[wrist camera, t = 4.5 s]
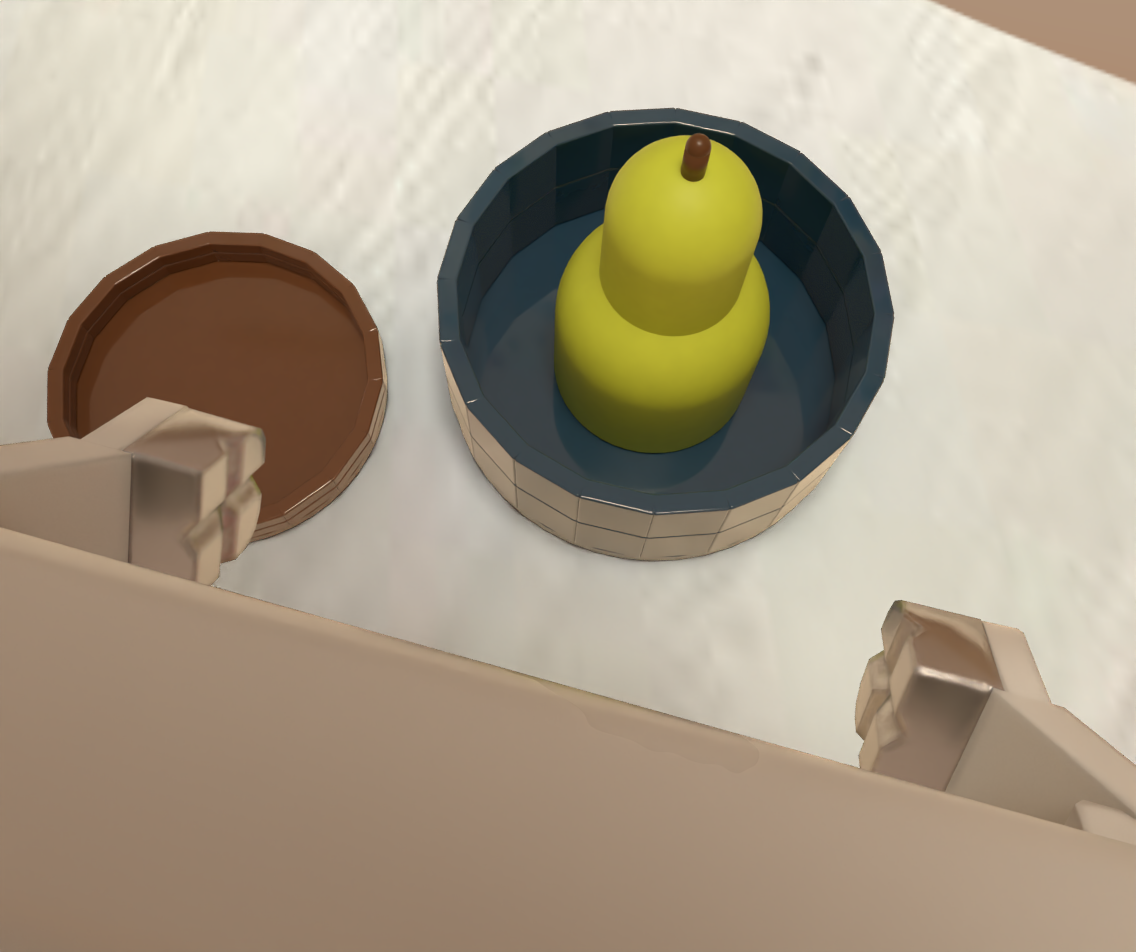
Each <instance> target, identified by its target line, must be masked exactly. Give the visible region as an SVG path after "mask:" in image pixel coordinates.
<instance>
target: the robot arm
mask: <svg viewBox="0 0 1136 952" xmlns="http://www.w3.org/2000/svg"><path fill="white" fill-rule="evenodd" d="M265 447H266V438H265V435H264V432H263V430H262V429H261V428H258V427H254V426H251V425H247V424H244V423H240V422H237V421H234V420H230V419H227V418H223V417H220V416H216V415H213V414H209V413H206V412H202V411H199V410H195V409H192V408H188V407H187V406H185V405H180V404H176V403H172V402H167V401H163V400H158V399H154V398H149V397H146V398H145V399H143V400H142V401H140V402H139V403H137V404H135V405H134V406H132V407H131V408H129V409H128V410H126V411H124V412H123V413H121V414H120V415H118V416H116V417H115V418H113V419H112V420H110V421H109V422H107V423H105V424H104V425H102V426H101V427H99V428H98V429H96V430H94V431H93V432H91V433H90V434H88V435H86V436H85V437H83V438H82V439H77V438H73V437H70V436H67V437H60V438H52V439H44V440H37V441H29V442H21V443H13V444H6V445H0V952H1136V765H1135V764H1134V763H1132V762H1131V761H1130V760H1129V759H1127V758H1126V757H1125V756H1124V755H1122V754H1121V753H1120V752H1119V751H1117V750H1116V749H1115V748H1114V747H1112V746H1111V745H1110V744H1109V743H1108V742H1106V741H1105V740H1104V739H1103V738H1101V737H1100V736H1099V735H1098V734H1096V733H1095V732H1094V731H1093V730H1091V729H1090V728H1089V727H1088V726H1086V725H1085V724H1084V723H1083V722H1082V721H1080V720H1079V719H1078V718H1077V717H1075V716H1074V715H1073V714H1072V713H1070V712H1069V711H1068V710H1067V709H1065V708H1064V707H1060V706H1057V705H1053V704H1052V703H1051V701H1050V698H1049V696H1048V693H1047V691H1046V688H1045V686H1044V683H1043V681H1042V678H1041V676H1040V673H1039V671H1038V668H1037V666H1036V663H1035V661H1034V658H1033V656H1032V653H1031V651H1030V648H1029V646H1028V643H1027V640H1026V638H1025V635H1024V633H1023V632H1021V631H1020V630H1019V629H1017V628H1012V627H1008V626H1003V625H998V624H994V623H989V622H985V621H981V619H977V618H973V617H969V616H965V615H961V614H957V613H952V612H948V611H944V610H940V609H936V608H932V607H928V606H924V605H920V604H916V603H911V602H907V601H903V600H898V601H894V603H893V605H892V606H891V608H890V610H889V611H888V613H887V616H886V618H885V621H884V623H883V626H882V628H881V633H882V640H883V646H884V650H883V651H881V652H880V653H878V654H877V655H875V656H873V657H872V658H870V659H869V661H868V663H867V666H866V669H865V672H864V674H863V677H862V680H861V683H860V687H859V692H858V696H857V700H856V708H855V726H856V732H857V733H858V735H859V736H860V737H861V738H862V739H863V740H864V743H863V745H862V748H861V750H860V753H859V755H858V756H859V764H860V768H858V767H854V766H851V765H847V764H843V763H840V762H836V761H833V760H829V759H826V758H822V757H818V756H815V755H811V754H808V753H804V752H801V751H797V750H793V749H790V748H786V747H783V746H779V745H776V744H772V743H768V742H765V741H761V740H758V739H754V738H751V737H747V736H743V735H740V734H736V733H733V732H729V731H726V730H722V729H718V728H715V727H711V726H708V725H704V724H701V723H697V722H694V721H690V720H686V719H683V718H679V717H676V716H672V715H669V714H665V713H661V712H658V711H654V710H651V709H647V708H644V707H640V706H637V705H633V704H629V703H626V702H622V701H619V700H615V699H612V698H608V697H604V696H601V695H597V694H594V693H590V692H587V691H583V690H580V689H576V688H572V687H569V686H565V685H562V684H558V683H555V682H551V681H547V680H544V679H540V678H537V677H533V676H530V675H526V674H523V673H519V672H515V671H512V670H508V669H505V668H501V667H498V666H494V665H490V664H487V663H483V662H480V661H476V660H473V659H469V658H466V657H462V656H458V655H455V654H451V653H448V652H444V651H441V650H437V649H433V648H430V647H426V646H423V645H419V644H416V643H412V642H409V641H405V640H401V639H398V638H394V637H391V636H387V635H384V634H380V633H376V632H373V631H369V630H366V629H362V628H359V627H355V626H352V625H348V624H344V623H341V622H337V621H334V620H330V619H327V618H323V617H319V616H316V615H312V614H309V613H305V612H302V611H298V610H294V609H291V608H287V607H284V606H280V605H277V604H273V603H270V602H266V601H262V600H259V599H255V598H252V597H248V596H245V595H241V594H237V593H234V592H230V591H227V590H223V589H220V588H216V587H213V586H211V585H212V584H213V583H214V582H215V581H216V580H217V579H218V578H219V574H220V564H221V563H225V562H228V561H232V560H236V559H237V558H238V556H239V555H240V554H241V553H242V552H243V551H244V550H245V549H246V547H247V545H248V543H249V541H250V539H251V537H252V535H253V533H254V531H255V529H256V525H257V521H258V517H259V513H260V506H261V496H262V493H261V491H260V489H259V487H258V486H257V484H256V482H255V480H254V478H253V476H252V474H253V473H254V472H255V471H256V470H257V469H258V468H259V467H260V466H261V465H263V464H264V463H265Z"/></svg>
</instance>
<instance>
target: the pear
mask: <svg viewBox="0 0 1136 952" xmlns="http://www.w3.org/2000/svg"><path fill="white" fill-rule="evenodd" d="M761 227H762V201H761V197H760V193H759V189H758V186H757V184H756V181H755V179H754V177H753V175H752V174H751V172H750V170H749V169H748V167H747V166H746V165H745V163H744V162H743V161H742V160H741V159H740V158H739V157H738V156H737V155H736V154H735V153H733V152H732V151H731V150H729V149H728V148H727V147H725V146H723V145H722V144H720V143H718V142H715V141H713V140H710V139H709V138H708V137H707V136H706V135H704V134H701V133H697V134H694V135H692V136H690V135H682V136H673V137H668V138H664V139H661V140H658V141H655V142H653V143H651V144H649V145H647V146H645V147H644V148H642V149H641V150H639V151H638V152H637V153H635V154H634V155H633V156H632V157H631V158H630V159H629V160H628V161H627V162H626V163H625V164H624V166H623V167H622V168H621V169H620V170H619V172H618V174H617V175H616V177H615V179H614V181H613V183H612V185H611V188H610V190H609V193H608V197H607V201H606V205H605V215H604V223H603V224H602V225H600V226H599V227H598V228H596V229H595V230H594V231H593V232H592V233H591V234H590V235H589V236H587V237H586V239H585V240H584V241H583V242H582V243H581V244H580V246H579V247H578V248H577V249H576V251H575V252H574V253H573V255H572V257H571V258H570V260H569V262H568V264H567V266H566V268H565V271H564V273H563V275H562V278H561V280H560V284H559V288H558V292H557V298H556V307H555V335H554V371H555V377H556V382H557V385H558V388H559V391H560V394H561V396H562V398H563V400H564V402H565V404H566V405H567V407H568V408H569V410H570V411H571V413H572V414H573V415H574V416H575V418H576V419H577V420H578V421H579V422H580V423H581V424H582V425H583V426H584V427H585V428H587V429H588V430H589V431H590V432H591V433H593V434H594V435H596V436H598V437H599V438H601V439H602V440H604V441H606V442H608V443H610V444H612V445H615V446H618V447H621V448H624V449H627V450H632V451H636V452H644V453H666V452H673V451H678V450H682V449H685V448H689V447H691V446H694V445H696V444H698V443H701V442H702V441H704V440H706V439H707V438H709V437H711V436H712V435H714V434H715V433H716V432H717V431H719V430H720V429H721V428H722V427H723V426H724V425H725V424H726V423H727V422H728V421H729V420H730V418H731V417H732V416H733V414H734V413H735V411H736V410H737V408H738V406H739V404H740V402H741V400H742V398H743V396H744V394H745V391H746V389H747V387H748V384H749V382H750V380H751V377H752V375H753V373H754V370H755V368H756V366H757V363H758V361H759V359H760V357H761V354H762V351H763V348H764V345H765V342H766V339H767V335H768V329H769V324H770V301H769V292H768V289H767V285H766V281H765V278H764V274H763V272H762V269H761V267H760V265H759V263H758V261H757V259H756V257H755V256H754V251H755V248H756V245H757V243H758V240H759V236H760V232H761Z"/></svg>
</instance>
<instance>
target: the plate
mask: <svg viewBox="0 0 1136 952" xmlns="http://www.w3.org/2000/svg"><path fill="white" fill-rule="evenodd" d="M387 392H388V391H387V374H386V366H385V360H384V353H383V344H382V341H381V338H380V335H379V331H378V328H377V326H376V324H375V323H374V321H373V319H372V317H371V315H370V313H369V311H368V310H367V308H366V306H365V304H364V302H363V300H362V298H361V297H360V295H359V293H358V291H357V289H356V287H355V286H354V285H353V284H352V283H351V282H350V281H349V280H348V279H346V278H345V277H344V276H343V275H342V274H340V273H339V272H338V271H337V270H336V269H334V268H333V267H332V266H331V265H330V264H329V263H327V262H326V261H325V260H324V259H323V258H321V257H320V256H319V255H318V254H317V253H315V252H313V251H311V250H308V249H305V248H303V247H300V246H297V245H294V244H292V243H289V242H286V241H283V240H281V239H278V238H275V237H272V236H270V235H267V234H263V233H238V232H205V233H202V234H198V235H194V236H190V237H187V238H183V239H179V240H175V241H172V242H168V243H164V244H161V245H157V246H155V247H152V248H150V249H149V250H147V251H145V252H144V253H142V254H141V255H139V256H137V257H136V258H134V259H132V260H131V261H129V262H128V263H126V264H124V265H123V266H121V267H119V268H118V269H116V270H115V271H113V272H111V273H110V274H108V275H106V277H104V278H103V279H102V280H101V281H100V282H99V284H98V285H97V286H96V287H95V288H94V289H93V290H92V292H91V293H90V294H89V295H88V296H87V297H86V299H85V300H84V301H83V302H82V303H81V304H80V305H79V307H78V308H77V309H76V310H75V311H74V312H73V314H72V315H71V316H70V317H69V320H67V323H66V325H65V328H64V330H63V333H62V335H61V338H60V340H59V343H58V345H57V348H56V350H55V353H54V355H53V358H52V360H51V363H50V365H49V368H48V382H47V423H48V427H49V429H50V432H51V434H52V437H53V438H60V437H67V436H70V437H73V438H77V439H82V438H83V437H85V436H86V435H88V434H90V433H91V432H93V431H94V430H96V429H98V428H99V427H101V426H102V425H104V424H105V423H107V422H109V421H110V420H112V419H113V418H115V417H116V416H118V415H120V414H121V413H123V412H124V411H126V410H128V409H129V408H131V407H132V406H134V405H135V404H137V403H139V402H140V401H142V400H143V399H145V398H146V397H149V398H154V399H158V400H163V401H167V402H172V403H176V404H180V405H185V406H187V407H188V408H192V409H195V410H199V411H202V412H206V413H209V414H213V415H216V416H220V417H223V418H227V419H230V420H234V421H237V422H240V423H244V424H247V425H251V426H254V427H258V428H261V429H262V430H263V432H264V435H265V438H266V447H265V463H264V464H263V465H261V466H260V467H259V468H258V469H257V470H256V471H255V472H254V473H253V474H252V476H253V478H254V480H255V482H256V484H257V486H258V487H259V489H260V491H261V493H262V496H261V506H260V513H259V517H258V521H257V525H256V529H255V531H254V533H253V535H252V537H251V539H250V541H249V543H250V542H253V541H257V540H260V539H264V538H268V537H271V536H274V535H276V534H278V533H281V532H283V531H286V530H288V529H290V528H293V527H294V526H296V525H298V524H300V523H302V522H303V521H305V520H307V519H309V518H310V517H312V516H313V515H315V514H316V513H317V512H319V511H320V510H322V509H323V508H324V507H326V506H327V505H328V504H330V503H331V502H332V501H333V500H334V499H335V498H336V497H337V496H338V495H339V494H340V493H341V492H342V491H343V490H344V489H345V488H346V487H347V486H348V485H349V484H350V482H351V481H352V480H353V479H354V477H355V476H356V475H357V474H358V473H359V471H360V469H361V468H362V466H363V465H364V463H365V462H366V460H367V458H368V457H369V455H370V453H371V451H372V449H373V447H374V444H375V442H376V440H377V438H378V435H379V432H380V429H381V426H382V422H383V419H384V414H385V408H386V401H387Z"/></svg>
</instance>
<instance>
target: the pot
mask: <svg viewBox="0 0 1136 952" xmlns="http://www.w3.org/2000/svg"><path fill="white" fill-rule="evenodd" d="M697 133H701V134H704V135H706V136H707V137H708V138H709V139H710V140H713V141H715V142H718V143H720V144H722V145H723V146H725V147H727V148H728V149H729V150H731V151H732V152H733V153H735V154H736V155H737V156H738V157H739V158H740V159H741V160H742V161H743V162H744V163H745V165H746V166H747V167H748V169H749V170H750V172H751V174H752V175H753V177H754V179H755V181H756V184H757V186H758V189H759V193H760V197H761V201H762V227H761V232H760V236H759V240H758V243H757V245H756V248H755V251H754V256H755V257H756V259H757V261H758V263H759V265H760V267H761V269H762V272H763V274H764V278H765V281H766V285H767V289H768V292H769V301H770V324H769V329H768V335H767V339H766V342H765V345H764V348H763V351H762V354H761V357H760V359H759V361H758V363H757V366H756V368H755V370H754V373H753V375H752V377H751V380H750V382H749V384H748V387H747V389H746V391H745V394H744V396H743V398H742V400H741V402H740V404H739V406H738V408H737V410H736V411H735V413H734V414H733V416H732V417H731V418H730V420H729V421H728V422H727V423H726V424H725V425H724V426H723V427H722V428H721V429H720V430H719V431H717V432H716V433H715V434H714V435H712V436H711V437H709V438H707V439H706V440H704V441H702V442H701V443H698V444H696V445H694V446H691V447H689V448H685V449H682V450H678V451H673V452H666V453H644V452H636V451H632V450H627V449H624V448H621V447H618V446H615V445H612V444H610V443H608V442H606V441H604V440H602V439H601V438H599V437H598V436H596V435H594V434H593V433H591V432H590V431H589V430H588V429H587V428H585V427H584V426H583V425H582V424H581V423H580V422H579V421H578V420H577V419H576V418H575V416H574V415H573V414H572V413H571V411H570V410H569V408H568V407H567V405H566V404H565V402H564V400H563V398H562V396H561V394H560V391H559V388H558V385H557V382H556V377H555V371H554V335H555V307H556V298H557V292H558V288H559V284H560V280H561V278H562V275H563V273H564V271H565V268H566V266H567V264H568V262H569V260H570V258H571V257H572V255H573V253H574V252H575V251H576V249H577V248H578V247H579V246H580V244H581V243H582V242H583V241H584V240H585V239H586V237H587V236H589V235H590V234H591V233H592V232H593V231H594V230H595V229H596V228H598V227H599V226H600V225H602V224H603V223H604V215H605V205H606V201H607V197H608V193H609V190H610V188H611V185H612V183H613V181H614V179H615V177H616V175H617V174H618V172H619V170H620V169H621V168H622V167H623V166H624V164H625V163H626V162H627V161H628V160H629V159H630V158H631V157H632V156H633V155H634V154H635V153H637V152H638V151H639V150H641V149H642V148H644V147H645V146H647V145H649V144H651V143H653V142H655V141H658V140H661V139H664V138H668V137H673V136H682V135H690V136H692V135H694V134H697ZM437 278H438V280H437V297H438V319H439V341H440V347H441V352H442V357H443V362H444V367H445V372H446V378H447V383H448V388H449V393H450V398H451V403H452V407H453V409H454V412H455V414H456V417H457V419H458V421H459V424H460V428H461V431H462V434H463V436H464V438H465V441H466V443H467V445H468V447H469V449H470V451H471V454H472V456H473V458H474V459H475V461H476V463H477V464H478V465H479V467H480V468H481V470H482V471H483V473H484V475H485V476H486V478H487V479H488V480H489V481H490V482H491V484H492V485H493V486H494V487H495V488H496V489H497V491H498V492H499V493H500V494H501V495H502V496H503V498H504V499H506V500H507V501H508V502H509V503H510V504H511V505H512V506H513V507H514V508H516V509H517V510H518V511H519V512H520V513H521V514H522V515H523V516H525V517H526V518H528V519H529V520H531V521H532V522H534V523H535V524H537V525H538V526H540V527H541V528H542V529H544V530H545V531H547V532H549V533H551V534H553V535H555V536H557V537H559V538H561V539H563V540H565V541H567V542H569V543H571V544H574V545H577V546H580V547H582V548H585V549H588V550H591V551H594V552H597V553H601V554H606V555H610V556H615V557H619V558H626V559H637V560H647V561H657V560H679V559H685V558H691V557H698V556H704V555H707V554H711V553H714V552H717V551H721V550H724V549H727V548H730V547H733V546H735V545H737V544H739V543H741V542H744V541H746V540H748V539H750V538H752V537H755V536H756V535H758V534H759V533H761V532H762V531H764V530H766V529H767V528H770V527H771V526H772V525H774V524H775V523H777V522H778V521H779V520H780V519H781V518H783V517H784V516H785V515H786V514H787V513H789V512H790V511H791V510H792V509H793V508H795V507H796V506H797V504H798V503H799V502H800V501H801V500H802V499H803V498H804V497H806V496H807V495H808V494H809V493H810V492H811V491H812V490H814V488H815V487H816V486H817V485H818V483H819V482H820V480H821V479H822V478H823V476H824V475H825V474H826V472H827V471H828V470H829V468H830V467H831V465H832V464H833V462H834V461H835V460H836V459H837V457H838V456H839V454H840V453H841V452H842V450H843V449H844V448H845V446H846V445H847V443H848V442H849V441H850V439H851V438H852V437H853V435H854V433H855V432H856V430H857V428H858V426H859V424H860V423H861V421H862V419H863V417H864V416H865V414H866V412H867V410H868V408H869V407H870V405H871V403H872V401H873V400H874V398H875V396H876V394H877V392H878V391H879V389H880V387H881V385H882V384H883V382H884V378H885V375H886V369H887V362H888V355H889V349H890V342H891V336H892V329H893V323H894V311H893V306H892V301H891V296H890V291H889V286H888V281H887V276H886V271H885V266H884V261H883V256H882V253H881V250H880V248H879V247H878V245H877V243H876V241H875V240H874V238H873V236H872V235H871V233H870V231H869V229H868V228H867V226H866V224H865V223H864V221H863V219H862V217H861V216H860V214H859V212H858V210H857V209H856V207H855V205H854V204H853V202H852V200H851V198H850V197H848V195H847V194H846V193H845V192H844V191H843V190H842V189H840V188H839V187H838V186H837V185H836V184H835V183H834V182H833V181H832V180H831V179H830V178H829V177H828V176H826V175H825V174H824V173H823V172H822V171H821V170H820V169H819V168H818V167H817V166H816V165H815V164H813V163H812V162H811V161H810V160H809V159H808V158H807V157H806V156H805V155H804V154H803V153H800V151H799V150H797V149H795V148H793V147H791V146H789V145H787V144H785V143H783V142H781V141H779V140H777V139H775V138H773V137H771V136H769V135H767V134H765V133H763V132H761V131H759V130H757V129H755V128H753V127H751V126H750V125H748V124H746V123H744V122H741V123H740V121H736V120H731V119H727V118H722V117H717V116H713V115H708V114H703V113H698V112H694V111H689V110H684V109H679V108H676V109H675V108H660V109H641V110H622V111H610V112H605V113H602V114H599V115H596V116H593V117H590V118H587V119H584V120H581V121H578V122H575V123H572V124H569V125H566V126H563V127H560V128H557V129H554V130H551V131H548V132H546V133H544V134H543V135H541V136H540V137H538V138H537V139H535V140H534V141H533V142H531V143H530V144H528V145H527V146H525V147H524V148H523V149H521V150H520V151H518V152H517V153H515V154H514V155H512V156H511V157H510V158H508V159H507V160H505V161H504V162H502V163H501V164H500V165H498V166H497V167H495V170H493V171H492V172H491V173H490V175H489V176H488V177H487V179H486V180H485V181H484V183H483V184H482V185H481V187H480V188H479V189H478V191H477V192H476V193H475V195H474V196H473V197H472V199H471V200H470V201H469V203H468V204H467V205H466V207H465V208H464V209H463V211H462V212H461V213H460V215H459V216H458V217H457V220H456V221H455V223H454V227H453V230H452V233H451V236H450V239H449V242H448V245H447V249H446V252H445V255H444V258H443V261H442V264H441V267H440V271H439V274H438V277H437Z"/></svg>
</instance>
